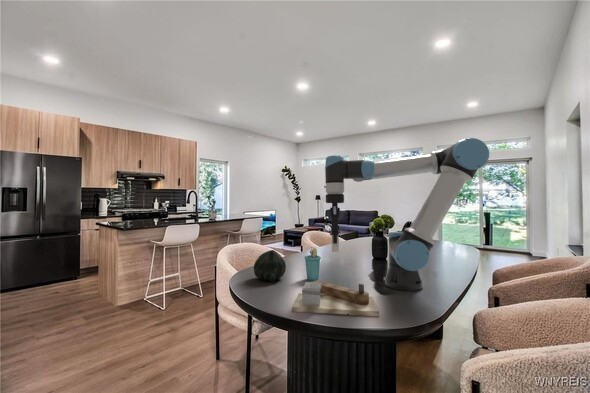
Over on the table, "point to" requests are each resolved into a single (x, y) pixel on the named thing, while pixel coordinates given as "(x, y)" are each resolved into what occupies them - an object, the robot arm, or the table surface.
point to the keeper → (311, 294)
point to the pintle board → (337, 306)
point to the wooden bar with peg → (345, 293)
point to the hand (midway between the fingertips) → (335, 250)
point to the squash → (269, 266)
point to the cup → (312, 265)
